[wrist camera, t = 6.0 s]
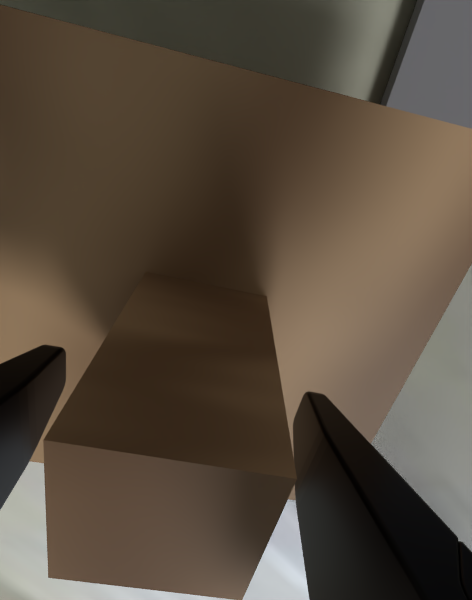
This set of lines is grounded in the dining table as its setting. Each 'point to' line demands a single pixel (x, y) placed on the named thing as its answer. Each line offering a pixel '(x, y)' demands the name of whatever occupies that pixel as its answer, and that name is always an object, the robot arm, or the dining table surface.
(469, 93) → the mat
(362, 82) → the dining table surface
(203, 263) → the lid
